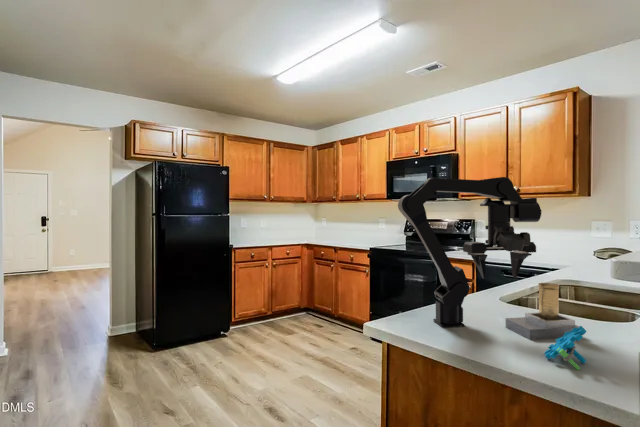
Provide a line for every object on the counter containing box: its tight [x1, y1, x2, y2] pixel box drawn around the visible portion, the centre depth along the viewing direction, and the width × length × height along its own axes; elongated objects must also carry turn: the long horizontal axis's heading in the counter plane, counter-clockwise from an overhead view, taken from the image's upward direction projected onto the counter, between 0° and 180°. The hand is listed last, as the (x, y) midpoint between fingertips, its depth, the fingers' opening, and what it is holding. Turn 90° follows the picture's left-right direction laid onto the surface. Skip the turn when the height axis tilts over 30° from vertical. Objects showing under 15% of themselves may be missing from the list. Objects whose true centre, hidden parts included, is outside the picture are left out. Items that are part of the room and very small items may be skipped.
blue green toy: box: [543, 325, 587, 371], centre depth 80 cm, size 11×6×10 cm
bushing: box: [538, 282, 560, 321], centre depth 99 cm, size 5×5×12 cm
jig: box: [505, 311, 581, 340], centre depth 99 cm, size 14×10×4 cm
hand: (499, 277), depth 106 cm, fingers open, 9 cm apart
